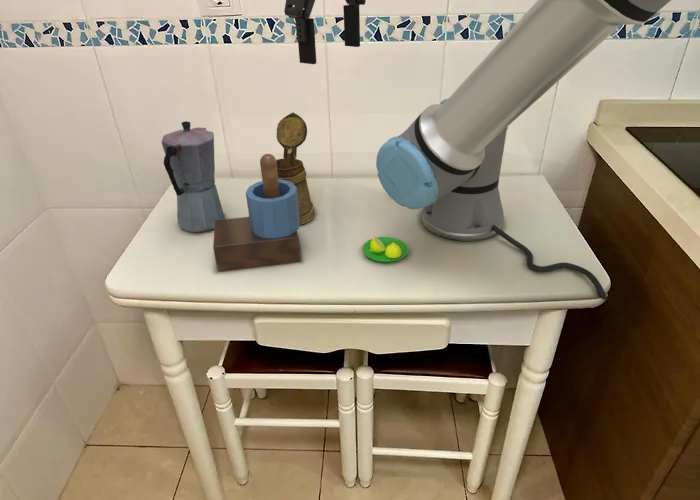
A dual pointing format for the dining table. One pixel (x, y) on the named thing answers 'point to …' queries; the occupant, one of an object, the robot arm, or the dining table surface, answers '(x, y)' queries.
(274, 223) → the blue faceted cup
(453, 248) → the dining table surface
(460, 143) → the robot arm
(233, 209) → the dining table surface
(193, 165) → the moka pot
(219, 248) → the peg box
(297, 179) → the wooden mug
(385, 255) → the green plate
